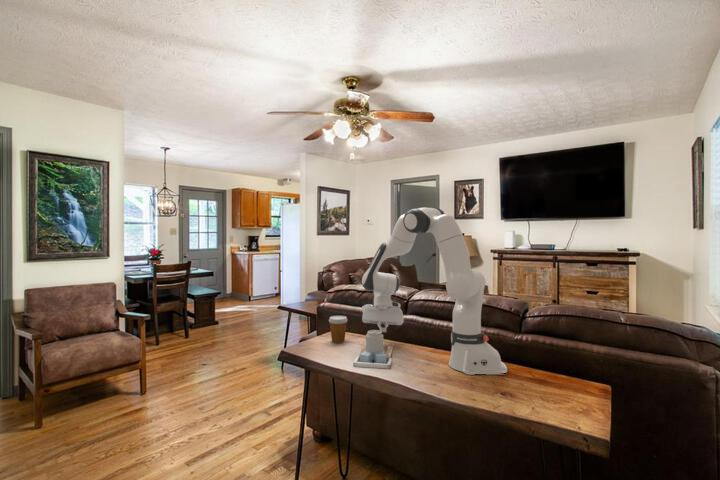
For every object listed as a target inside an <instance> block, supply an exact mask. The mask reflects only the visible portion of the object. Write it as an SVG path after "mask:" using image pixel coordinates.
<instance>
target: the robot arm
mask: <svg viewBox="0 0 720 480" xmlns="http://www.w3.org/2000/svg"><path fill="white" fill-rule="evenodd" d="M423 233H424V234H425V233H426V234H428V233H431V234H432V236H434V237H433V238H434V240H435V243H436V245H437V248H438V250H439V253H440V256H441V259H442V262H443V266H444V273H445V279H446V284H445V288H446V292H447V294H448V295H449V297H451V298H452V299H454V300H455V304H454V307H453V309H452V330H451V333H450V340H451V341H450V342H451V350H450V351H451V352H450V357H449V361H448V366H449V367H450V368H452V370H456V371H459V372H462V373H464V374H466V375H468V376H469V375H474V376H475V374H486V375H501V374H500V373H506V372H507V373H508V367H507V365H506V364H505V363H504V362H503V361H502V359H501V355H500V353H499V351H498V350H497V349H495V348H494V347H493V346H492V345H491V344H489V343H488V341H489V337H488V335H487V334H486V333H484V332H483V331H481V329H482V321H481V320H482V308H483V301H484V296H485V295H484V293H485V287H486V278H485V275H484V274H483V273H482V272H480V271H478V270H475V269H472V265H471V259H470V255H471V254H470V251H469V247H468V245H467V243H466V240H465V238H464V237H465V236H464V235H463V232H462V230H461V228H460V226H459V224H458V223H457V221H456V219H455V218H454V216H453V215H451V214H449V213H448V214H447V213H445V212H444V211H443V210H442V209H440V208H438V207H418V208H412V209H409V210H407V211H406V212H405V213H404V214H402V215H400V216H399V217H398V219H397V221H396V223H395V224H394V227H393V229H392V233H391V235H390V237H389V238H388V239H387V240H386V241H385V242H382V243H381V244H380V245H379V247H378V248H377V250H376V252H375V254H374V256H373V258H372V260H371V262H370V264H369V266H368V268H367V269H366V271H364V273H363V276H362V279H361V286H362V288H364V289H365V290H366V291H367V292H373V295H374V297H373V304H364V305H362V307H361V312H362V316H361V322H362V323H364V324H377V325H376V326H377V327H378V330H379V331H381V332H382V333H387V328H388V327H389V325H391V326H393V325H394V326H395V325H396V326H402V325H403V324H404V321H405V319H404V313H403V310H402V309H401V303H399V302H397V301H394V300H392V299H391V296H393V295H394V294H396V293H397V292H398V291H399V289H400V279H399V277H398V276H397V275H396V274H393V273H387V272H386V273H385V272H380V271H379V270H380V267H381V266H382V264H383V262H384V261H386V259H389V258H392V257H393V258H394V257H398V256H399V257H400V256H404V255H406V254H408V253H410V251H411V250H412V248H413V246H414V245H415V241H416V237H417V235H418V234H423ZM382 325H384V327H382ZM507 373H506V374H507Z"/></svg>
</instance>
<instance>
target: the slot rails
mask: <svg viewBox="0 0 720 480" xmlns="http://www.w3.org/2000/svg"><path fill="white" fill-rule="evenodd" d="M363 352H366V344H365V345H364V347H363V349H362V350H361V352H360V354H361V353H363ZM393 352H394V346H393V345H389V346H388V347H387V350H386V353H385V355H386V363H388V361H389V358H391V357H392V355H393ZM358 356H359V361H360V355H358Z"/></svg>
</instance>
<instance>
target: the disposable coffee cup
mask: <svg viewBox="0 0 720 480" xmlns="http://www.w3.org/2000/svg"><path fill="white" fill-rule="evenodd" d="M328 322H329V327H330V328H329V329H330V336H331V343H335V344H341V343H344V342H345V341H346V332H347V331H346V330H347V323H348V317H347V316H345V315H331V316H330V317H329V319H328Z"/></svg>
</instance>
